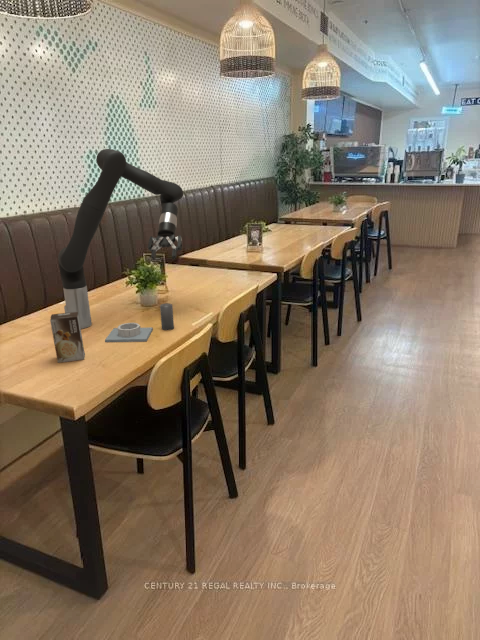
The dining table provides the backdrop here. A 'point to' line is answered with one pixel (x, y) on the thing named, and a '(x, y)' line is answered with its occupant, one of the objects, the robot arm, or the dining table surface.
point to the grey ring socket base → (129, 333)
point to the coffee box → (67, 337)
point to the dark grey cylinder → (167, 316)
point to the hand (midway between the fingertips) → (163, 258)
